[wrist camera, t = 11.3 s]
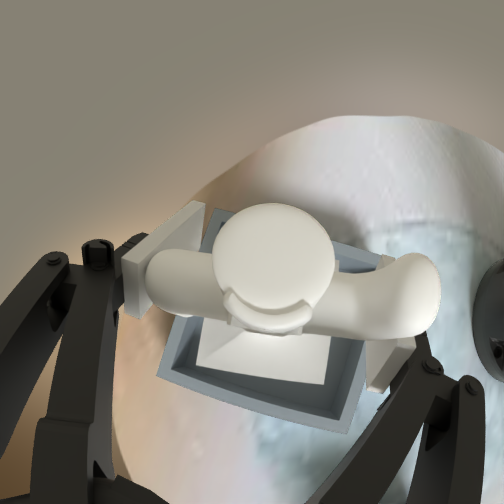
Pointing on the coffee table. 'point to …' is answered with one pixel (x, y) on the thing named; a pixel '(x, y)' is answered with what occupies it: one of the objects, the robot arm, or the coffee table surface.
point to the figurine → (287, 295)
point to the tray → (267, 389)
